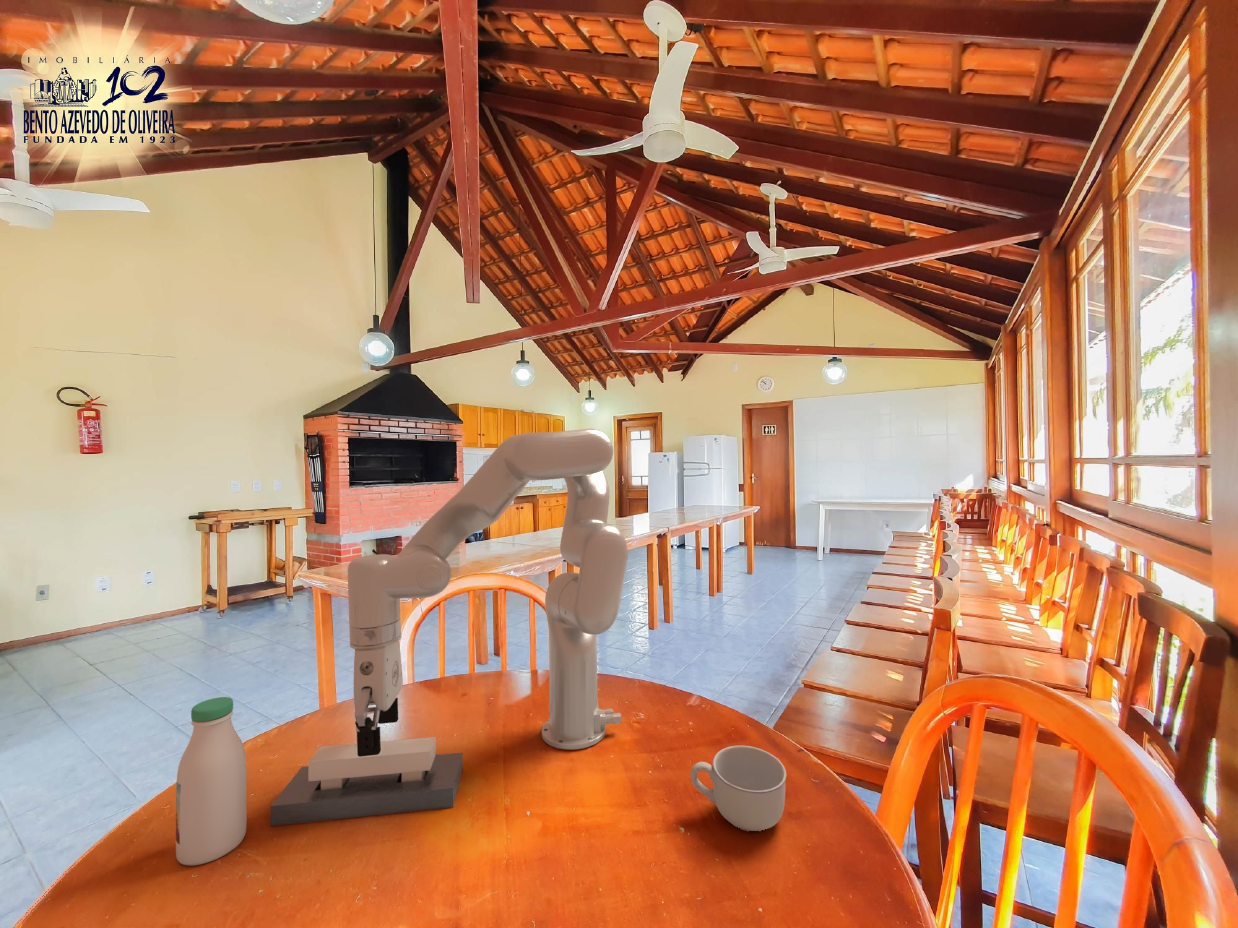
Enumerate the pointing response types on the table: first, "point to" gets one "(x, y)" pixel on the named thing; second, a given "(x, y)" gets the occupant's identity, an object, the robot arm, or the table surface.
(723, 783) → the teacup
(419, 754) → the white peg bar
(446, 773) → the grey base board
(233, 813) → the milk bottle
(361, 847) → the table surface
